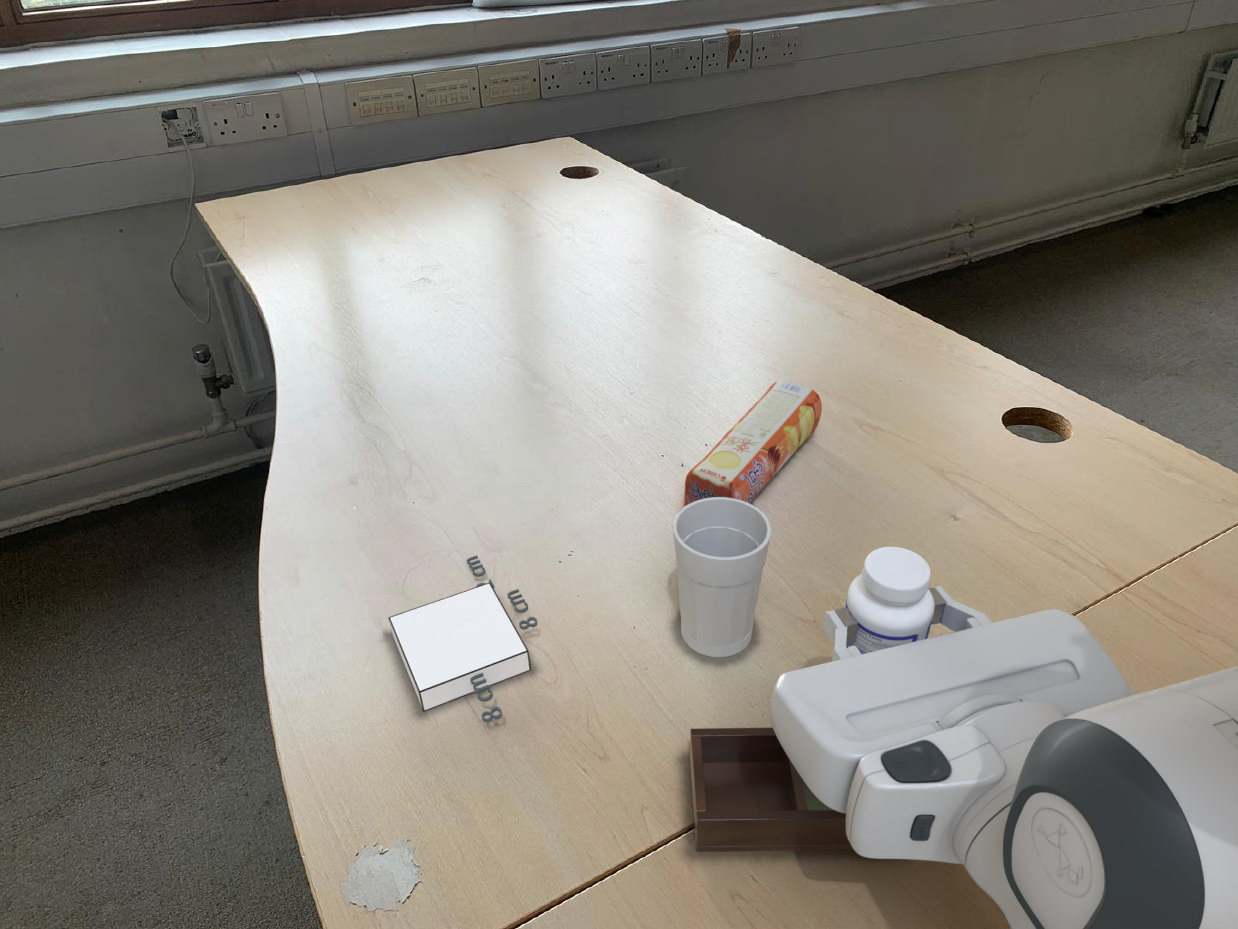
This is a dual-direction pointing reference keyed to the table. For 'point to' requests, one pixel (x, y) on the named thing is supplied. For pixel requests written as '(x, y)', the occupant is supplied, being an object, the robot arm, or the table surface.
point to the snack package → (756, 445)
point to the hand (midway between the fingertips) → (880, 605)
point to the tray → (755, 796)
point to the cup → (719, 572)
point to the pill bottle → (891, 600)
